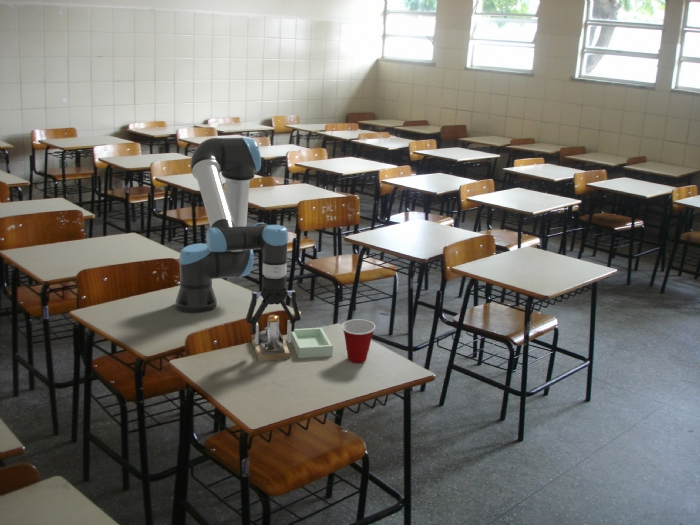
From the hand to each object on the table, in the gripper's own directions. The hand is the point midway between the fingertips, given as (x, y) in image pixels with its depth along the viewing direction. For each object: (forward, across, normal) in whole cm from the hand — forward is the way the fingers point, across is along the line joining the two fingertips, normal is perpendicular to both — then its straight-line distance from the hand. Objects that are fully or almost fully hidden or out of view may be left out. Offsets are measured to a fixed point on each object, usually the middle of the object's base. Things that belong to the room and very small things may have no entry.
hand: (272, 341), depth 226 cm
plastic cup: (+5, +26, -8) cm, 27 cm away
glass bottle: (+3, 0, 0) cm, 3 cm away
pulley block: (+5, 0, +4) cm, 6 cm away
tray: (+5, +14, +4) cm, 15 cm away
